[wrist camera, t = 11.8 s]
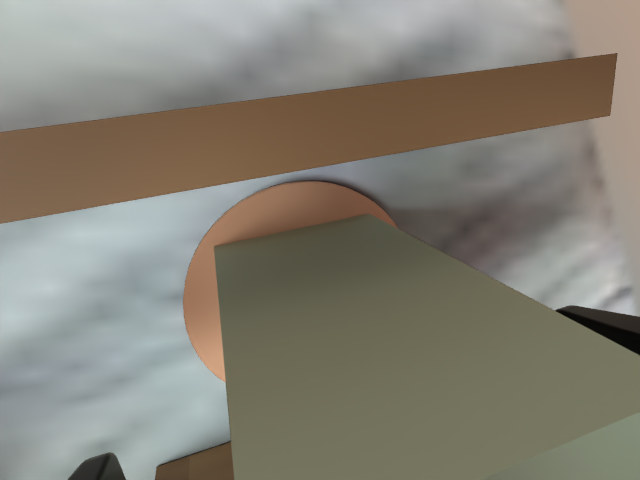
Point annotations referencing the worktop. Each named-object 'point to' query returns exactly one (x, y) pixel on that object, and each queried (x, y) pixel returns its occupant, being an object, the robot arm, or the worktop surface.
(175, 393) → the worktop surface
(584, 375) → the block
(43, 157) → the channel
